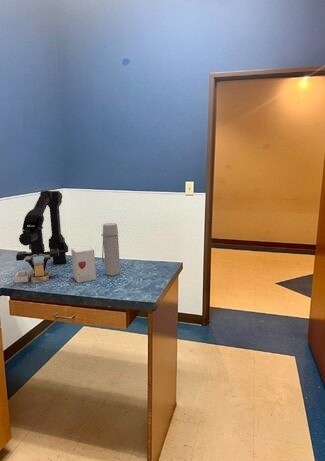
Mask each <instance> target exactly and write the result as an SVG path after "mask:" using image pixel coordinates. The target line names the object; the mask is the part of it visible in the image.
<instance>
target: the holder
mask: <svg viewBox="0 0 325 461" xmlns="http://www.w3.org/2000/svg"><path fill="white" fill-rule="evenodd" d="M49 278H50V271H45V274H44V276H36V277H35V272H32V274H31V276H30V282H31V283H33V284H34V283H42V282H48V281H49V280H50V279H49Z"/></svg>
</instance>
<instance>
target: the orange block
mask: <svg viewBox="0 0 325 461" xmlns="http://www.w3.org/2000/svg"><path fill="white" fill-rule="evenodd" d="M34 270H35V272H34V273H35V278H36V276H42V277H45V276H44V274H45V272H46V270H45V271H44V262H39V263H38V262H36V263H34Z"/></svg>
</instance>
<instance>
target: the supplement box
mask: <svg viewBox="0 0 325 461" xmlns="http://www.w3.org/2000/svg"><path fill="white" fill-rule="evenodd" d="M70 249H71V250H70V251H71V261H72V262H71V263H72V276H73V277H72V278H74V280H75V282H77V283H84V282H89V281H94V280H97V272H96V257H95V248H94V247H92V246H91V245H83V246H82V245H81V246H76V247H74V246H73V247H71V248H70Z"/></svg>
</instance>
